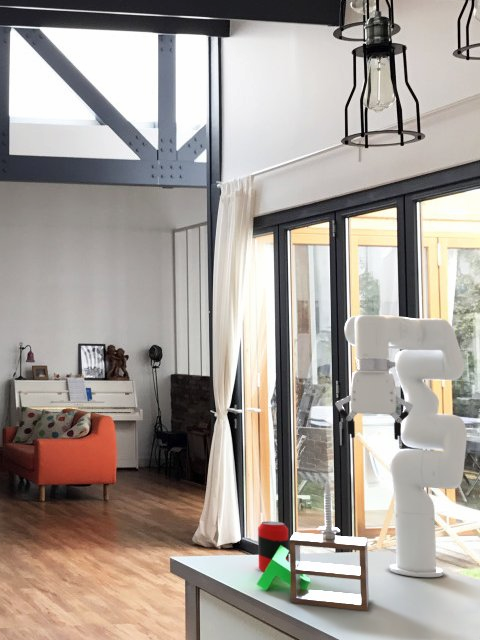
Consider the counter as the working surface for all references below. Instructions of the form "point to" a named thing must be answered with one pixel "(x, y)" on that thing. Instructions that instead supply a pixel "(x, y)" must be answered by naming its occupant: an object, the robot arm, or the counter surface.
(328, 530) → the screw
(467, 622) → the counter surface
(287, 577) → the bracket
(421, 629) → the counter surface
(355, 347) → the robot arm
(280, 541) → the soda can
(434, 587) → the counter surface
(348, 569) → the shelf
